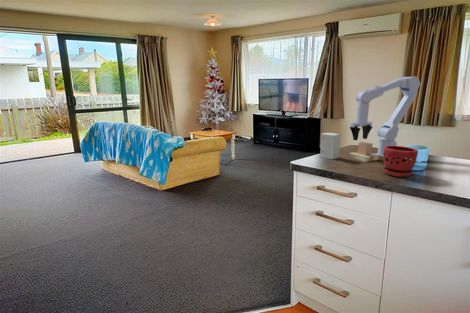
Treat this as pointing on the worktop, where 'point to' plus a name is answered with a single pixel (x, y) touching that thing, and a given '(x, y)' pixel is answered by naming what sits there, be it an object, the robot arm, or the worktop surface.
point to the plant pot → (399, 160)
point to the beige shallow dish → (363, 157)
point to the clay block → (365, 148)
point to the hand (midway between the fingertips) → (360, 139)
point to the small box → (330, 145)
